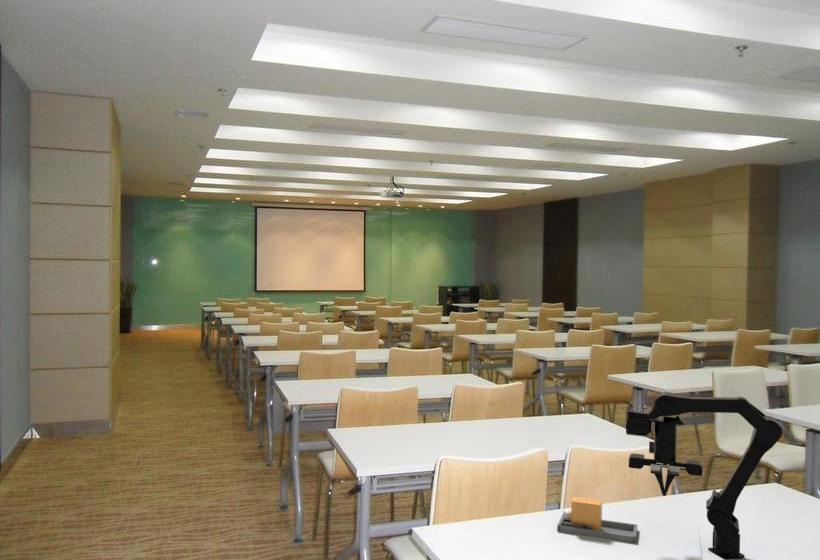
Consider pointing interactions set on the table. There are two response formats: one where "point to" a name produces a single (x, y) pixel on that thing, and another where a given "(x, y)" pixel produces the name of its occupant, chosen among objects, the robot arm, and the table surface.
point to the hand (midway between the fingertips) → (664, 495)
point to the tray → (608, 530)
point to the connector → (585, 512)
